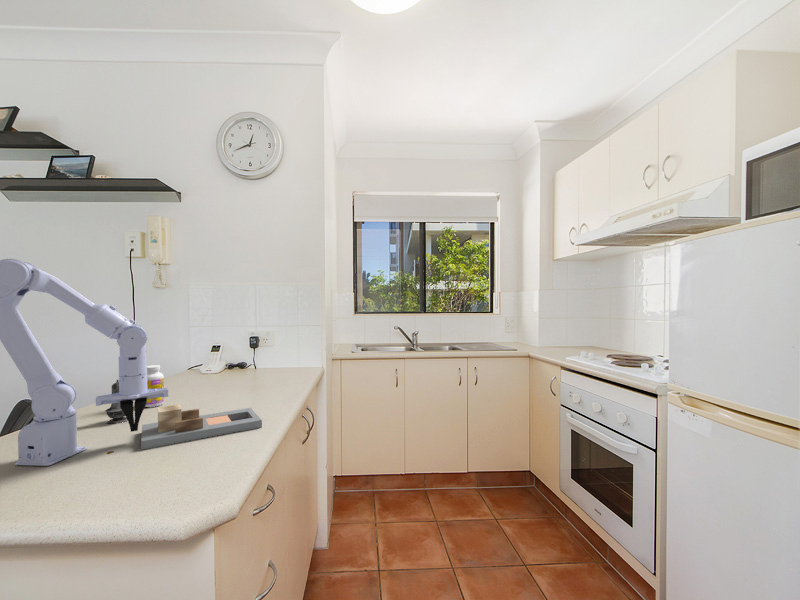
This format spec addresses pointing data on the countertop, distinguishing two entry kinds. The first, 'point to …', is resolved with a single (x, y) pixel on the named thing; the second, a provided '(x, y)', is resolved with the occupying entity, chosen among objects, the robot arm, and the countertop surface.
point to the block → (168, 417)
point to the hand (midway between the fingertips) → (134, 430)
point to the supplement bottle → (154, 384)
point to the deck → (239, 422)
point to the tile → (218, 420)
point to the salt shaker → (115, 408)
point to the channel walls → (189, 421)
